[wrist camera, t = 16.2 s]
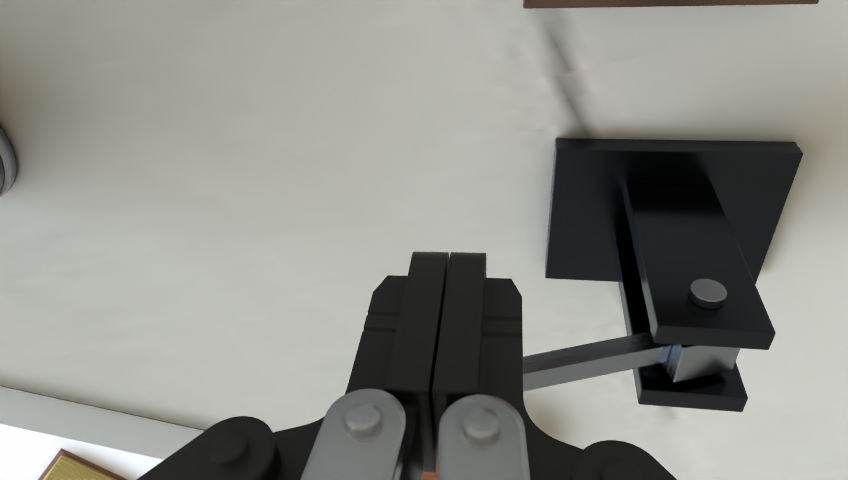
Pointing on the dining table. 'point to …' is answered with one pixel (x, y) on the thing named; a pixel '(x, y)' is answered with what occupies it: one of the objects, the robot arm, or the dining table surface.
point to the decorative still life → (79, 440)
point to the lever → (625, 360)
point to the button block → (652, 3)
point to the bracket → (674, 244)
